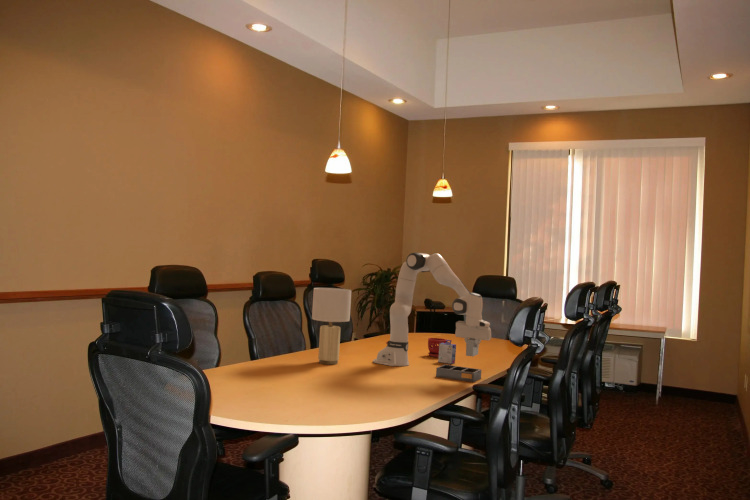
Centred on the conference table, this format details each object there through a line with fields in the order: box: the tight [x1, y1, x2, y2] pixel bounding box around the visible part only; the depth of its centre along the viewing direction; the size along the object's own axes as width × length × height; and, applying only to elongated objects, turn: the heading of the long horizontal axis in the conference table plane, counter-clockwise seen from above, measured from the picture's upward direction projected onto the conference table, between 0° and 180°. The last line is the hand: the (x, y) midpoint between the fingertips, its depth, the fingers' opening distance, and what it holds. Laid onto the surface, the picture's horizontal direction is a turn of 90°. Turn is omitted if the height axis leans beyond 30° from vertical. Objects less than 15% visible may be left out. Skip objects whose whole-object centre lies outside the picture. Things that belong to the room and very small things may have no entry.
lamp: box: [311, 287, 352, 366], centre depth 375 cm, size 23×23×44 cm
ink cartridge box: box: [437, 339, 457, 365], centre depth 401 cm, size 10×6×14 cm, turn 56°
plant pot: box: [427, 337, 449, 358], centre depth 424 cm, size 13×13×12 cm
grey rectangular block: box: [465, 338, 479, 357], centre depth 351 cm, size 4×10×9 cm, turn 154°
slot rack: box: [435, 363, 482, 383], centre depth 354 cm, size 22×14×5 cm, turn 63°
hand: (472, 346), depth 351 cm, fingers closed on grey rectangular block, 4 cm apart
